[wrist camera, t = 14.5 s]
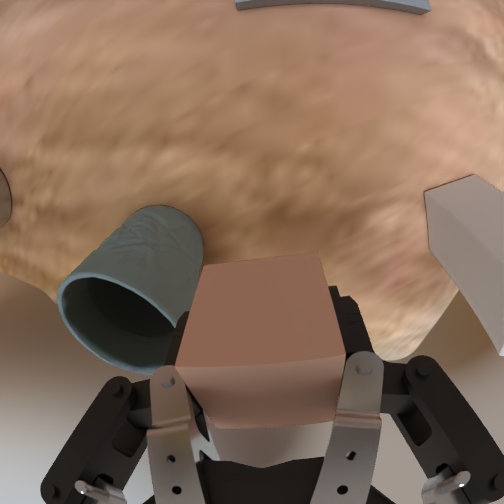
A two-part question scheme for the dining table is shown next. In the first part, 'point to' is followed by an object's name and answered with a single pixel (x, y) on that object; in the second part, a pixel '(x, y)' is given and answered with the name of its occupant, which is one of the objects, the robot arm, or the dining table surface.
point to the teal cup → (135, 289)
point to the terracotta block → (263, 343)
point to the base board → (413, 3)
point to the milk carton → (471, 245)
